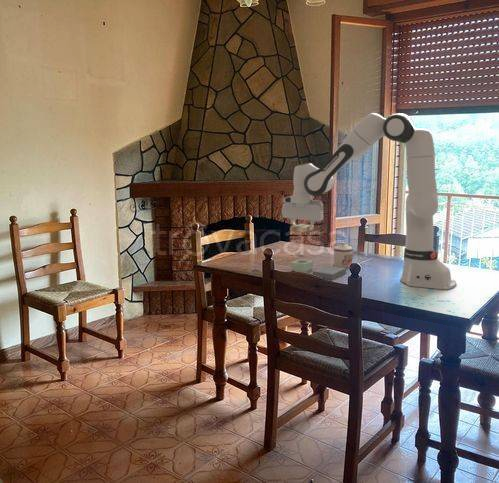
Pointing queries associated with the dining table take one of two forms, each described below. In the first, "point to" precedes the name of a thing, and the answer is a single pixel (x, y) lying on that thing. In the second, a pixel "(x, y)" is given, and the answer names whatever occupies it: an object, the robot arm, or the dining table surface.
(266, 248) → the dining table surface
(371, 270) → the dining table surface
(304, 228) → the lid board
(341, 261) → the teacup with lid
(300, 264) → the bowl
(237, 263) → the dining table surface
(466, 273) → the dining table surface
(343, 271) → the trivet
